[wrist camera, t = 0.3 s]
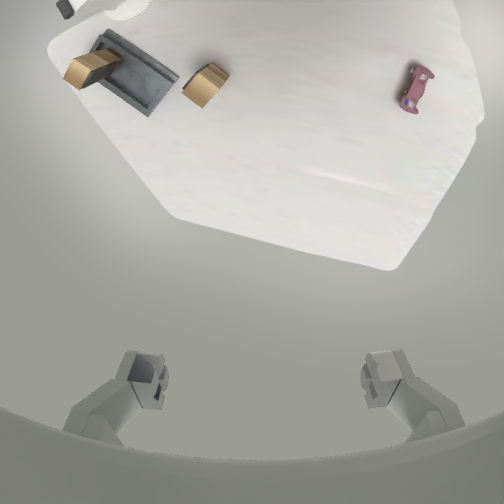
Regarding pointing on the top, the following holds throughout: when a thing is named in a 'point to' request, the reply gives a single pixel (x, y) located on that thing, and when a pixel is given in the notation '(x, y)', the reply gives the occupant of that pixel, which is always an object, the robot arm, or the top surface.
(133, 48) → the dark grey tray
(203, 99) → the oak finger
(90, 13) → the panda figurine
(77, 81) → the block
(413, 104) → the video game controller
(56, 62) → the top surface
